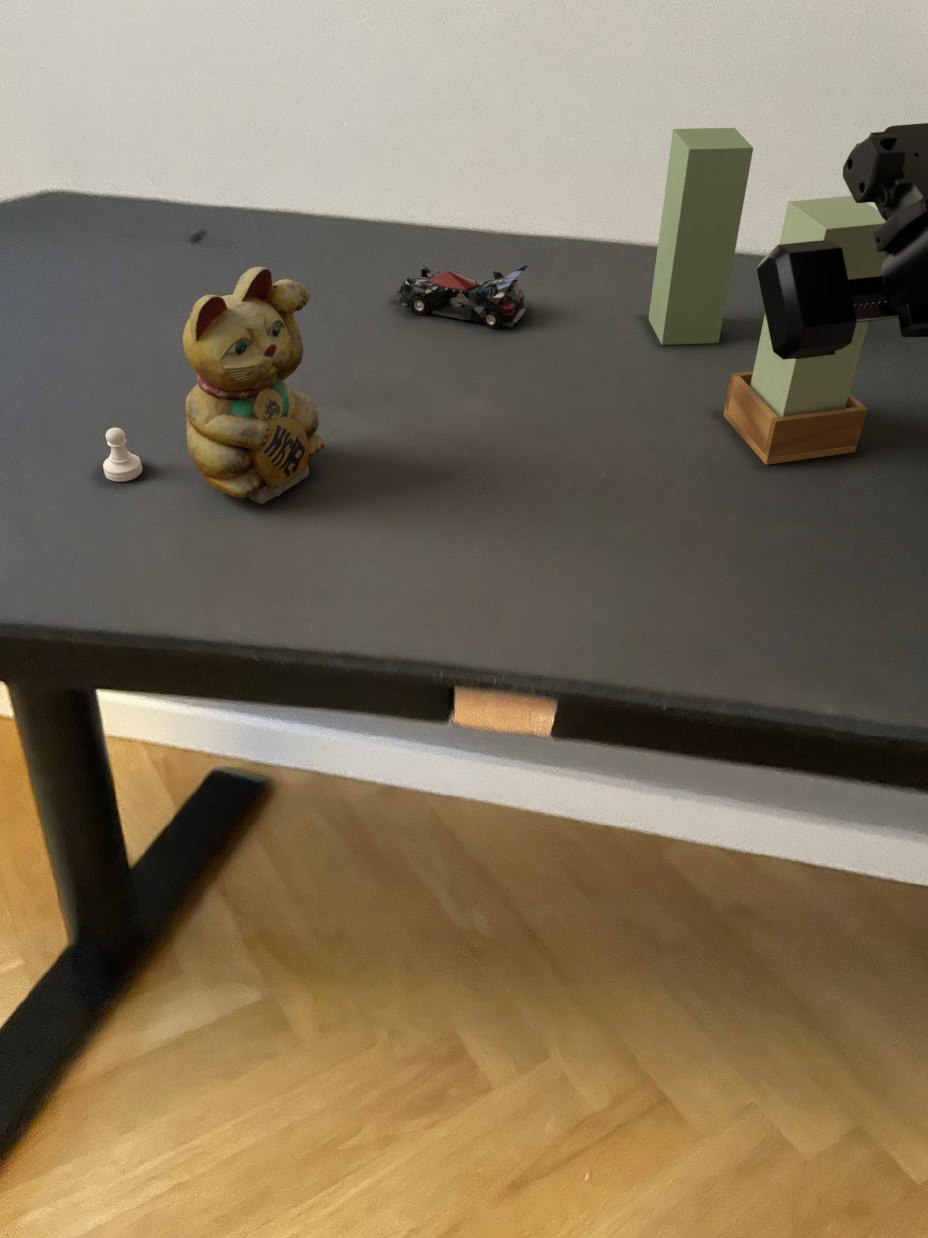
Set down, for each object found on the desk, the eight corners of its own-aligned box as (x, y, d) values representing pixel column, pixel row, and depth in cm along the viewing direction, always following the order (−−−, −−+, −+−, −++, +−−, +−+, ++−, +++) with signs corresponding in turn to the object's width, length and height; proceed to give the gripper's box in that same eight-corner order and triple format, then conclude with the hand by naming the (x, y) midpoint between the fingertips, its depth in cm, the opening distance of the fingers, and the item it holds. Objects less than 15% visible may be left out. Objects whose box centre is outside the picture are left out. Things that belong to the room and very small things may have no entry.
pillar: (703, 317, 95) (734, 127, 84) (718, 342, 91) (753, 147, 81) (648, 319, 94) (672, 128, 84) (661, 345, 91) (689, 148, 80)
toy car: (509, 335, 92) (510, 289, 89) (382, 311, 95) (380, 267, 93) (531, 306, 96) (534, 262, 93) (410, 285, 99) (409, 242, 97)
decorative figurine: (254, 528, 70) (221, 314, 60) (162, 490, 74) (117, 281, 64) (342, 461, 76) (326, 257, 67) (253, 429, 80) (225, 229, 70)
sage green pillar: (836, 439, 78) (896, 221, 68) (775, 448, 77) (826, 228, 67) (803, 406, 82) (855, 194, 71) (744, 414, 81) (787, 201, 70)
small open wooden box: (855, 452, 78) (868, 408, 76) (765, 465, 77) (775, 421, 74) (807, 404, 83) (817, 362, 81) (722, 415, 82) (730, 373, 80)
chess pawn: (127, 458, 77) (117, 415, 74) (150, 471, 75) (140, 427, 73) (97, 473, 75) (86, 430, 73) (120, 486, 74) (109, 443, 72)
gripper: (1116, 75, 58) (939, 209, 74) (808, 97, 55) (689, 233, 70) (1160, 271, 58) (972, 365, 73) (851, 307, 54) (721, 398, 69)
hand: (841, 336), depth 71 cm, fingers open, 9 cm apart
